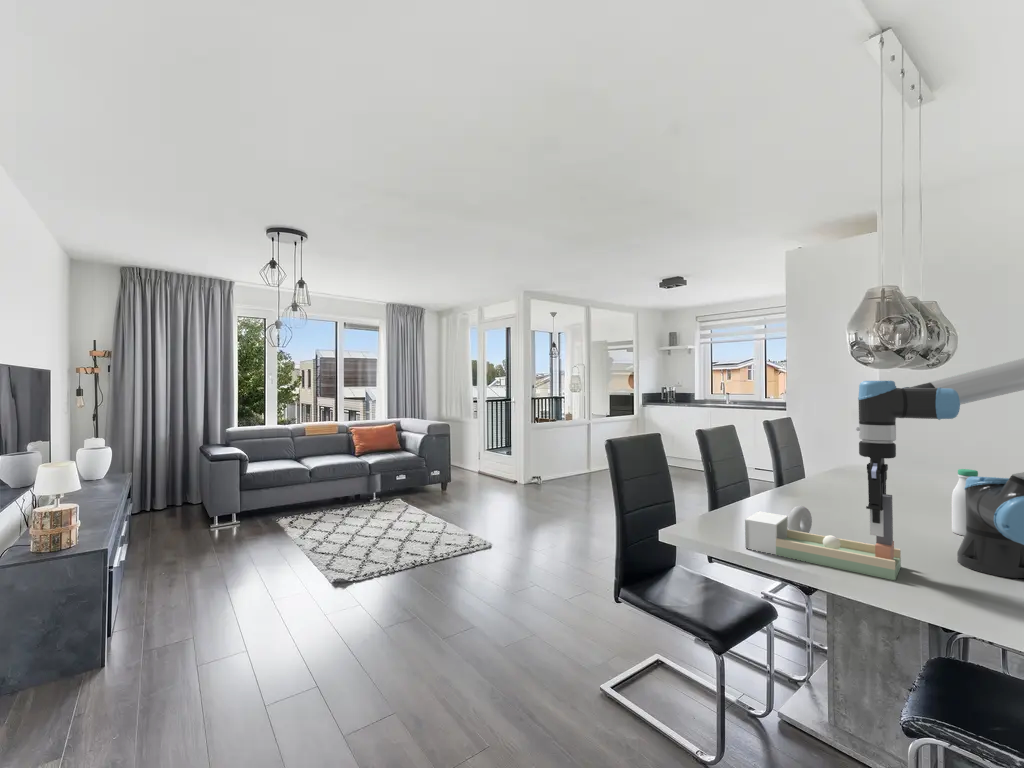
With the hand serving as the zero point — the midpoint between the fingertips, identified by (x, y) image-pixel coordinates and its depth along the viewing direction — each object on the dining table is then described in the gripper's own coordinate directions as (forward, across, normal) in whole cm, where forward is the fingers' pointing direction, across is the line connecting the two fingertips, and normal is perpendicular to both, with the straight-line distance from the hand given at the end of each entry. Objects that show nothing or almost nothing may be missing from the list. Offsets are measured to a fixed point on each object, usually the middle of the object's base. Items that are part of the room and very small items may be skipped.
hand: (877, 533), depth 124 cm
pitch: (+9, 0, -13) cm, 16 cm away
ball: (+5, 0, -10) cm, 11 cm away
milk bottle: (+9, -54, +16) cm, 57 cm away
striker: (+6, 0, +1) cm, 6 cm away
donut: (+9, -15, -21) cm, 28 cm away
